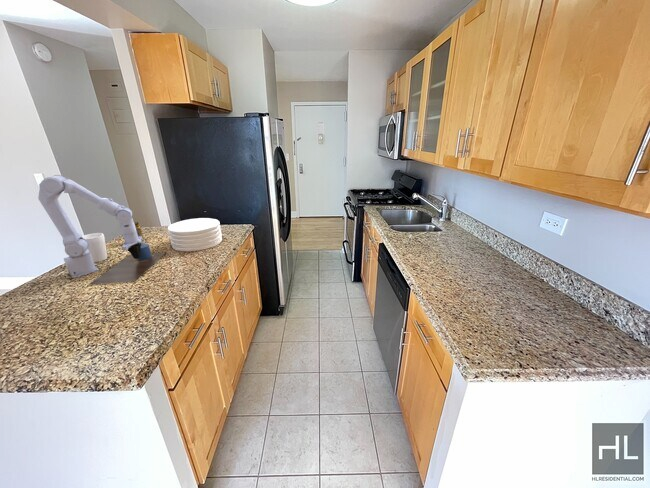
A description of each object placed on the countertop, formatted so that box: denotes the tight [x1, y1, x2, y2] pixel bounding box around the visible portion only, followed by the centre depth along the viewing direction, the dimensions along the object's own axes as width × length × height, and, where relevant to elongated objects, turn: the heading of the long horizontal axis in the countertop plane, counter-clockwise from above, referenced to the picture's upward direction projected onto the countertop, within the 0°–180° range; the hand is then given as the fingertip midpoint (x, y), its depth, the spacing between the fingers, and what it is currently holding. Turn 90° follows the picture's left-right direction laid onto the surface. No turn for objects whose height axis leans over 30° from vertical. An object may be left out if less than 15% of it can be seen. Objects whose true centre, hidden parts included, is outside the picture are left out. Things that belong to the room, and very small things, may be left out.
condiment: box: [133, 221, 146, 244], centre depth 157 cm, size 7×8×12 cm
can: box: [137, 243, 152, 260], centre depth 136 cm, size 7×7×6 cm
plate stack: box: [167, 217, 223, 252], centre depth 156 cm, size 28×28×12 cm
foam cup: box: [81, 232, 108, 263], centre depth 133 cm, size 10×9×13 cm
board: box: [89, 252, 167, 285], centre depth 127 cm, size 32×18×1 cm, turn 8°
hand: (137, 258), depth 131 cm, fingers closed
